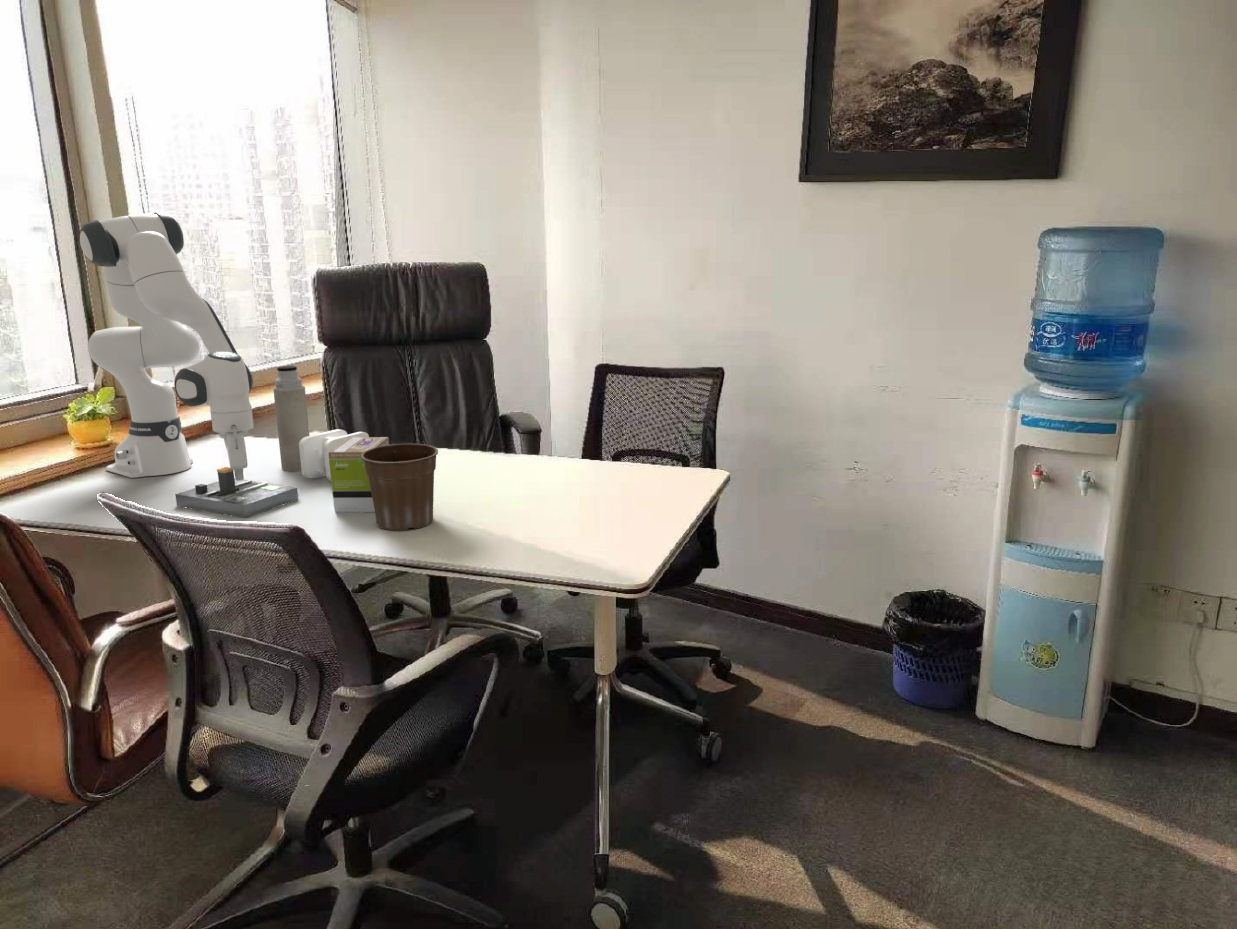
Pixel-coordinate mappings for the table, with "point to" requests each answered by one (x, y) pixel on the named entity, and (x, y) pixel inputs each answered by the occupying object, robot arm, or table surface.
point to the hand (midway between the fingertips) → (239, 478)
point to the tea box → (352, 474)
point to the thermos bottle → (290, 416)
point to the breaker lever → (226, 481)
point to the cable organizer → (321, 451)
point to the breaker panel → (237, 498)
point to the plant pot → (401, 484)
